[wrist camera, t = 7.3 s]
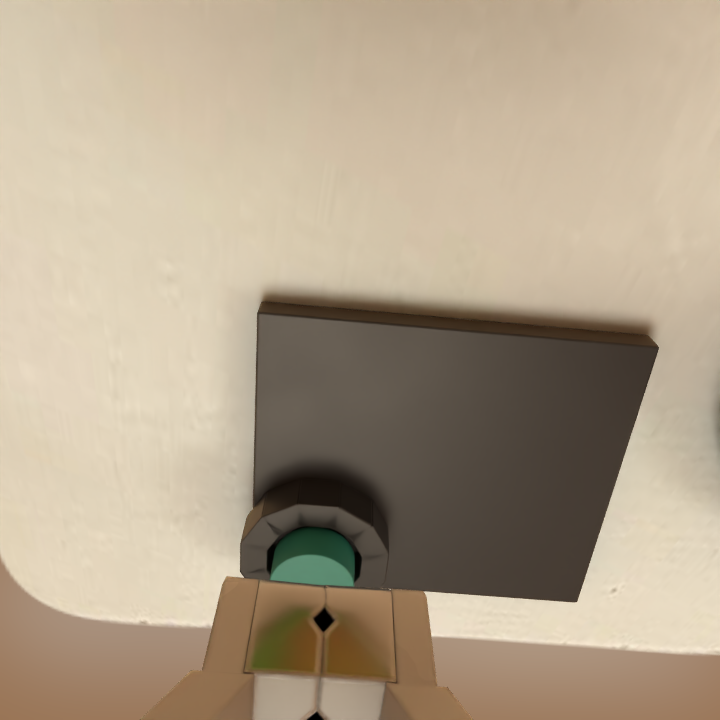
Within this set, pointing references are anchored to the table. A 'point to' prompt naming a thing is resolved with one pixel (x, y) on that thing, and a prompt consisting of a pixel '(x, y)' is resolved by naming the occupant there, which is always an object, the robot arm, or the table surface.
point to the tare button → (314, 558)
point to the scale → (441, 445)
